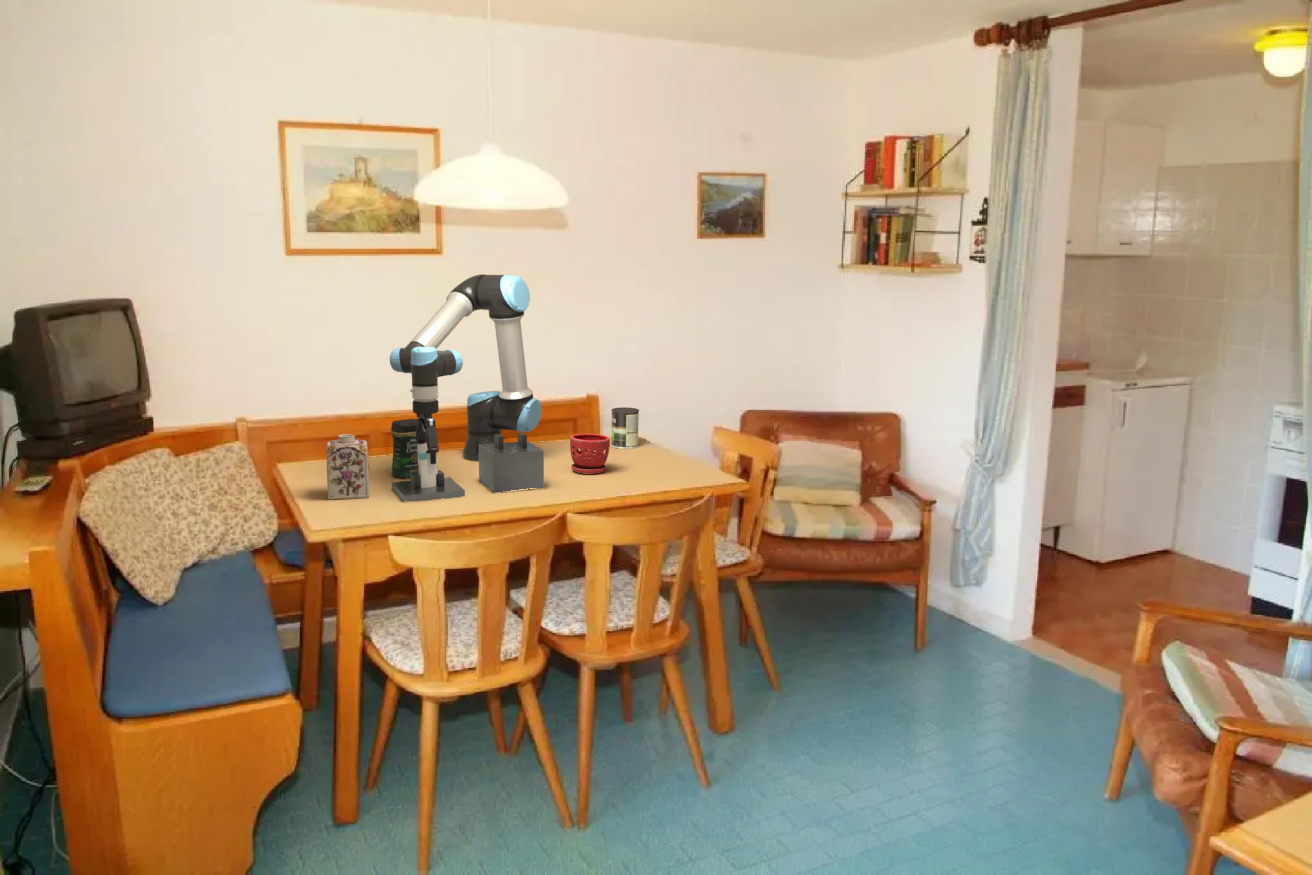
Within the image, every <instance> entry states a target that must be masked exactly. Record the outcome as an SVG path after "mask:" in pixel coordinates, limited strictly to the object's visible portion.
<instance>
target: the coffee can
mask: <svg viewBox="0 0 1312 875" xmlns="http://www.w3.org/2000/svg"><path fill="white" fill-rule="evenodd" d="M639 412H640V409H638V408H636V407H627V406H626V407H614V408H611V443H610V446H611V447H612V448H614V449H620V450H630V449H631V450H632V449H637V448H638V447H639Z"/></svg>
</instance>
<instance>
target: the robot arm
mask: <svg viewBox="0 0 1312 875" xmlns="http://www.w3.org/2000/svg"><path fill="white" fill-rule="evenodd" d="M530 299H531V297H530V290H529V286H528V285H527V283H526V281H525V280H524V279H522V277H520V276H517V275H511V274H475V275H473V276H471V277H468V278H467V279H465V280H463V281H462V282H460V283H459V284H457V285H456V286H455V287H454V288H453V289H452V290H451V291H450V292H449V293H448V294H447V295H446V300H445V303H443V305H442V306H441V307H440V308H439V309H438V310H437V311H436V312H435V313H434V315H432V317H431V318H430V319H429V320H428V321H427V323H426V324H425V325H424V326H423V327H422V328H420V331H418V332H417V334H416V335H415V336H414V337H413V338H412V340H410V342H409V343H408V344H407V345H406V346H405V347H403V346H402V347H396V348H393V350H392V351H391V352H390V355H389V364H390V367H391V369H392V370H393V371H395V372H398V373H403V374H411V387H412V388H411V389H409V390H410V393H411V395H412V396H411V397H412V399H413V401H412V402H411V403H412V413H414V414H416V419H417V425H416V438H415V439H416V440H417V443H419V444H417V449H418V453H426V454H427V460H428V475H434V474H438V468H439V467H438V452H440V448H439V442H438V434H437V433H438V432H437V427H436V419H435V418H433V415H434V414H437V413H439V410H440V409H439V406H440V405H439V400H438V398H439V381H438V378H441V377H446V376H453V375H455V374H458V373H459V372H461V370H462V368H463V364H464V361H463V357H462V355H461V353H460V352H459V351H457V350H455V349H445V350H437V349H438V348H439V347H440V346H441V345H442V343H443V342H444V341H445V339H447V338H448V336H450V334H451V333H452V332H453V331H454V330H455V329H456V327H457V326H459V323H460V322H461V321H462V320H463V319H464V318H466V317H469V316H471V314H473V312H475V311H480V310H482V311H483V310H484V311H488V316H489V319H490V320H491V321H493V322H494V330H495V337H496V344H497V352H498V353H497V354H498V361H499V362H498V363H499V369H500V370H499V371H500V380H501V385H502V386H501V387H502V390H501V391H500V390H488V391H481V392H474V393H471V394H469V395H468V397H467V404H466V412H467V414H466V416H467V417H466V418H467V419H466V420H467V438H466V441H465V444H464V447H463V450H462V457H463V459H465V460H469V461H474V462H475V461H477V462H479V444H494V434H500V435H501V436H502V430H504V431H511V432H512V431H514V432H517V433H525V432H526V433H527V432H528V433H529V432H532V431H533V430H534V429H535V428H536V427H537V426H538V425H539V422H540V420H541V417H542V403H541V401H540V400H539V399H537V398H534V393H533V390H532V389H531V388H530V387H529V386H528V378H527V369H526V368H527V367H526V361H525V360H526V358H525V351H524V350H525V349H524V341H523V333H522V330H523V329H522V323H521V320H522V318H523V317H524V316H525V311H527V309H528V308H529V306H530V303H529V302H530Z"/></svg>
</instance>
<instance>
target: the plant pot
mask: <svg viewBox="0 0 1312 875" xmlns="http://www.w3.org/2000/svg"><path fill="white" fill-rule="evenodd" d="M569 444H570V447H569V448H570V457H571V459H572V462H573V463H572V464H571V466H570V468H571V469H572V471H573V472H575V473H576V472H577V473H578V474H581V473H582V474H583V475H596V473H597V474H602V473H603V472H604V471H605V470H606V469H607V466H606V465H605V464H606V462H607V460H608V457H609V453H610V446H611V438H610V437H609V436H607V435H604V434H597V433H576V434H572V435H571V436H570V440H569ZM582 474H581V475H582Z"/></svg>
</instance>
